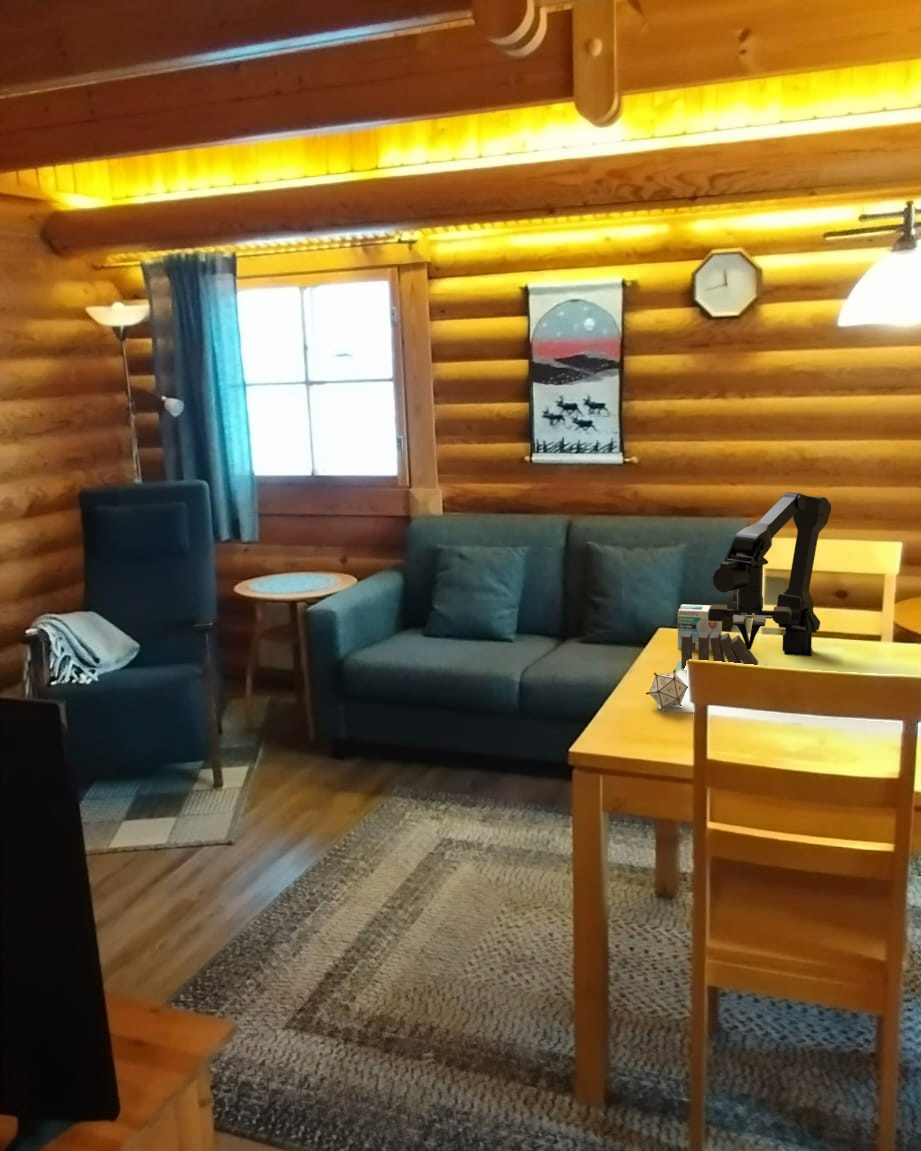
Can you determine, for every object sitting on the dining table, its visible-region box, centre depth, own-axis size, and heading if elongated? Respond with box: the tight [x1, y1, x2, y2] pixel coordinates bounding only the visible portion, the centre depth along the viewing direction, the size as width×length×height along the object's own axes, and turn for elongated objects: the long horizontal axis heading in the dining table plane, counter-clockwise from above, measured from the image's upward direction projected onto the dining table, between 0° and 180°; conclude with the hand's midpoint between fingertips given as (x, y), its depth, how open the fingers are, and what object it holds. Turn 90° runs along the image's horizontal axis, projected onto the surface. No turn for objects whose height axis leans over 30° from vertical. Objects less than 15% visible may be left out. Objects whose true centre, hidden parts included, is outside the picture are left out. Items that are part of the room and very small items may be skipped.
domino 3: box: [710, 632, 726, 663], centre depth 245 cm, size 2×5×8 cm, turn 161°
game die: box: [645, 669, 689, 712], centre depth 220 cm, size 9×8×10 cm
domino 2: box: [697, 632, 710, 661], centre depth 246 cm, size 2×5×8 cm, turn 161°
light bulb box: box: [677, 603, 723, 652], centre depth 263 cm, size 11×7×11 cm, turn 70°
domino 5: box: [730, 634, 759, 665], centre depth 243 cm, size 2×5×8 cm
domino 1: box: [680, 631, 693, 669], centre depth 248 cm, size 2×5×8 cm, turn 161°
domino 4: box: [719, 632, 743, 664], centre depth 244 cm, size 2×5×8 cm, turn 160°
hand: (749, 648), depth 243 cm, fingers closed
